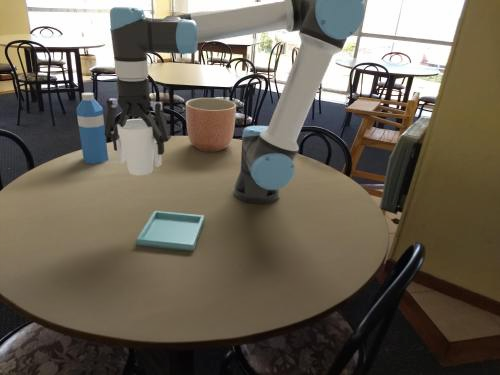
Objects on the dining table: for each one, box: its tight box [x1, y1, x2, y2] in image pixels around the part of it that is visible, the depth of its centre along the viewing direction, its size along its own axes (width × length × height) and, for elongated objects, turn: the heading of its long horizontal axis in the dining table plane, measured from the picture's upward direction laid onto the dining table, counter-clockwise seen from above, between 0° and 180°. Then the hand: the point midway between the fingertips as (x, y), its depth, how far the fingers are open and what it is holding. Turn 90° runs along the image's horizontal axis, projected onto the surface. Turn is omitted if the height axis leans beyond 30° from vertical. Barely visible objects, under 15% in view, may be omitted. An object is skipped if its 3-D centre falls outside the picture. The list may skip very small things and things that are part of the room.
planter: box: [185, 97, 237, 153], centre depth 159 cm, size 21×21×19 cm
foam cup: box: [116, 118, 156, 176], centre depth 98 cm, size 10×9×13 cm
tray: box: [136, 210, 205, 252], centre depth 102 cm, size 15×15×2 cm
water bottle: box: [76, 92, 109, 165], centre depth 138 cm, size 9×9×25 cm
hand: (140, 163), depth 100 cm, fingers closed on foam cup, 9 cm apart
